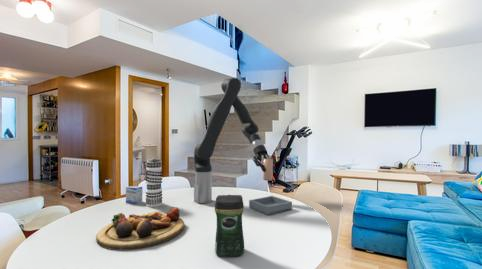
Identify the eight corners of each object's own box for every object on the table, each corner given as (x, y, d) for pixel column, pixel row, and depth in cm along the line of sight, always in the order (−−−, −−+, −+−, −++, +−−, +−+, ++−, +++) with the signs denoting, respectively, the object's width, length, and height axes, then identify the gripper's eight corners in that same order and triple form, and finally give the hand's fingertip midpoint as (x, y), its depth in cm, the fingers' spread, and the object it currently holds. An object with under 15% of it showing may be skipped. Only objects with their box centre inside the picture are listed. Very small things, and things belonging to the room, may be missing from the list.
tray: (268, 215, 115) (268, 207, 115) (249, 207, 128) (249, 200, 128) (291, 209, 124) (291, 201, 124) (272, 202, 137) (272, 195, 137)
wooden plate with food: (179, 214, 118) (179, 197, 118) (189, 241, 88) (189, 218, 88) (104, 224, 106) (104, 205, 106) (86, 259, 77) (86, 232, 77)
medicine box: (125, 202, 137) (125, 187, 137) (131, 200, 142) (131, 185, 142) (137, 203, 135) (137, 188, 135) (142, 201, 139) (142, 186, 139)
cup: (267, 181, 135) (267, 159, 135) (261, 179, 140) (261, 158, 140) (274, 180, 139) (274, 158, 139) (268, 178, 143) (268, 158, 143)
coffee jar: (243, 246, 84) (243, 192, 84) (244, 258, 76) (244, 198, 76) (215, 246, 84) (215, 192, 84) (213, 258, 76) (213, 198, 76)
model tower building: (144, 203, 136) (144, 158, 136) (161, 201, 140) (161, 157, 140) (145, 207, 128) (145, 160, 128) (163, 205, 132) (163, 159, 132)
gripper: (250, 144, 143) (260, 167, 132) (271, 144, 149) (282, 166, 139) (246, 152, 148) (255, 175, 137) (266, 152, 154) (277, 174, 143)
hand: (269, 171), depth 138 cm, fingers closed on cup, 5 cm apart
